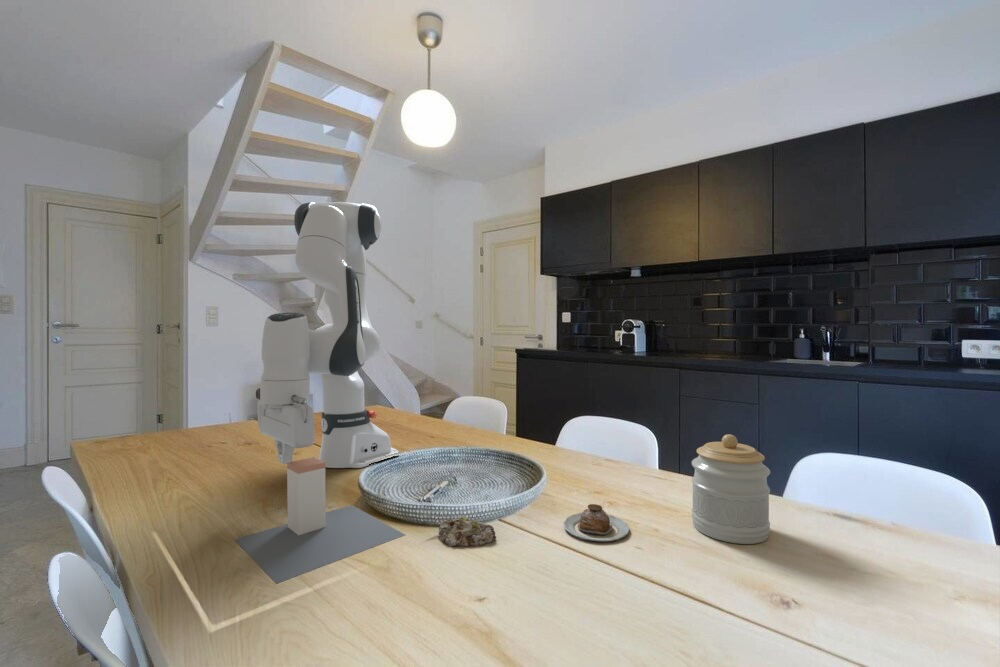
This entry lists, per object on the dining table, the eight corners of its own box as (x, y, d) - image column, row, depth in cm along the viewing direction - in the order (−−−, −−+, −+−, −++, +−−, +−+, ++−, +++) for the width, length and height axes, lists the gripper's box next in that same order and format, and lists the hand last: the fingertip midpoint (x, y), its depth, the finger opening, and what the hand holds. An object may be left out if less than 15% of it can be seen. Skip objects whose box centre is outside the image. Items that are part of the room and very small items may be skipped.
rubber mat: (351, 507, 96) (351, 504, 96) (405, 538, 82) (405, 534, 82) (234, 542, 81) (234, 539, 81) (276, 587, 67) (276, 583, 67)
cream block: (314, 518, 89) (313, 457, 89) (325, 526, 86) (325, 462, 86) (287, 526, 86) (287, 462, 86) (298, 535, 82) (297, 468, 82)
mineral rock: (428, 533, 79) (445, 504, 87) (431, 554, 81) (447, 524, 88) (488, 542, 77) (500, 511, 84) (490, 564, 78) (501, 531, 85)
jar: (766, 522, 89) (766, 430, 88) (774, 552, 77) (774, 446, 77) (692, 511, 94) (693, 424, 94) (689, 537, 82) (690, 438, 82)
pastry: (580, 513, 94) (580, 490, 94) (638, 527, 87) (638, 503, 87) (552, 534, 84) (552, 509, 84) (615, 553, 78) (615, 525, 77)
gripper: (324, 397, 87) (323, 470, 87) (282, 387, 102) (282, 450, 102) (289, 400, 83) (289, 477, 83) (251, 390, 97) (251, 455, 97)
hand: (284, 462), depth 92 cm, fingers closed
